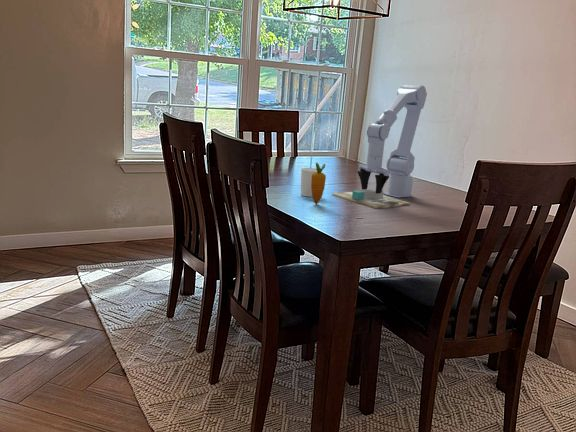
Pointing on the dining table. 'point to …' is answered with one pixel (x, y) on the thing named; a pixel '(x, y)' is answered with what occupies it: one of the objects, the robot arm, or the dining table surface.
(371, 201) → the cream rectangular tray
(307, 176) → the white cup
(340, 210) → the dining table surface
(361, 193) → the eraser
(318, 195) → the carrot
